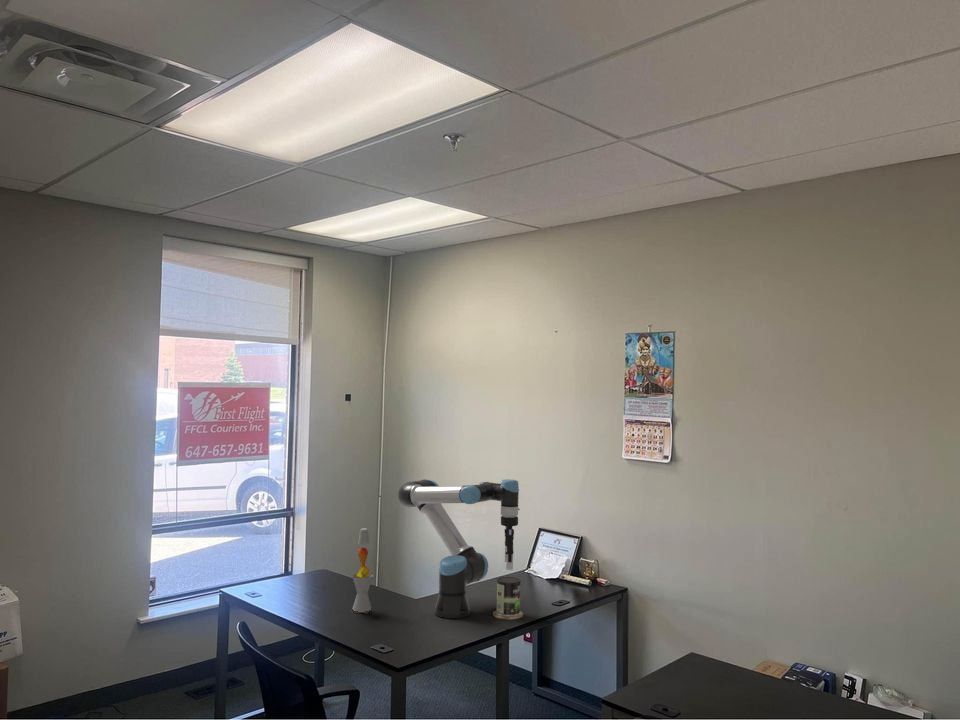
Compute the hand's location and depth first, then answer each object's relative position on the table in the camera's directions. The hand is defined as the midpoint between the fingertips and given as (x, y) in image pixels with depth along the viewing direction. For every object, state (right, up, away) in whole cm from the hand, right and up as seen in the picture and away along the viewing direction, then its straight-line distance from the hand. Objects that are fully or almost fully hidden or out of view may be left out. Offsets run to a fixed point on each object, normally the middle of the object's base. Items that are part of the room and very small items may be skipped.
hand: (508, 565), depth 301 cm
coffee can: (0, -20, -1) cm, 20 cm away
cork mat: (0, -21, -1) cm, 21 cm away
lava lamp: (-63, -20, +1) cm, 66 cm away
